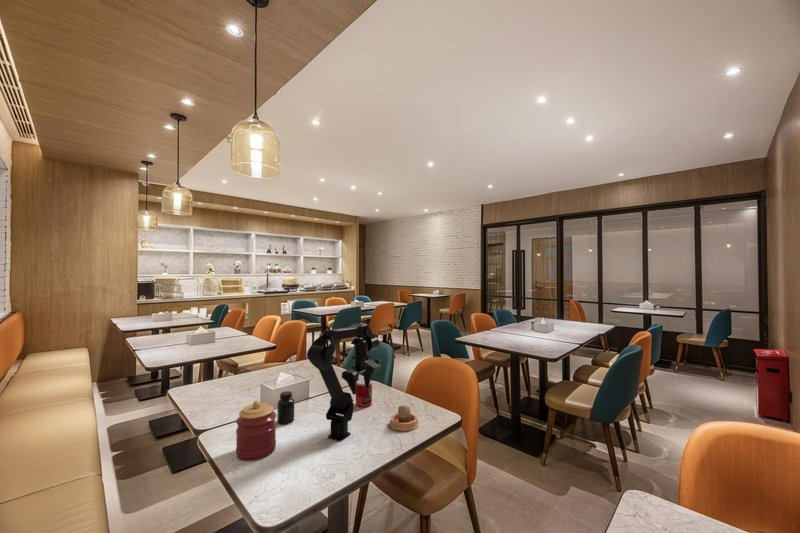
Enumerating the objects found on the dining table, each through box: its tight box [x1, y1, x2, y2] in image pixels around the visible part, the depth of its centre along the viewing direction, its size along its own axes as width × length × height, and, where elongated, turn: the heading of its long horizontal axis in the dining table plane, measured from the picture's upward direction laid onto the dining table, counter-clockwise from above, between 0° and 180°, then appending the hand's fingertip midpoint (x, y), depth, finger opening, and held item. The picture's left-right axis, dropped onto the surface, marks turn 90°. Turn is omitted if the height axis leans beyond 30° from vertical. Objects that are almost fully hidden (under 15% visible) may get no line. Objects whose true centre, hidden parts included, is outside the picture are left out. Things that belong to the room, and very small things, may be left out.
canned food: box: [355, 378, 373, 409], centre depth 159 cm, size 8×8×11 cm
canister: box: [235, 400, 277, 462], centre depth 117 cm, size 13×13×18 cm
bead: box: [397, 405, 411, 423], centre depth 138 cm, size 5×5×6 cm
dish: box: [389, 412, 420, 432], centre depth 138 cm, size 12×12×3 cm
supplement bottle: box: [276, 390, 295, 426], centre depth 141 cm, size 7×7×12 cm
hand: (360, 390), depth 141 cm, fingers open, 9 cm apart
